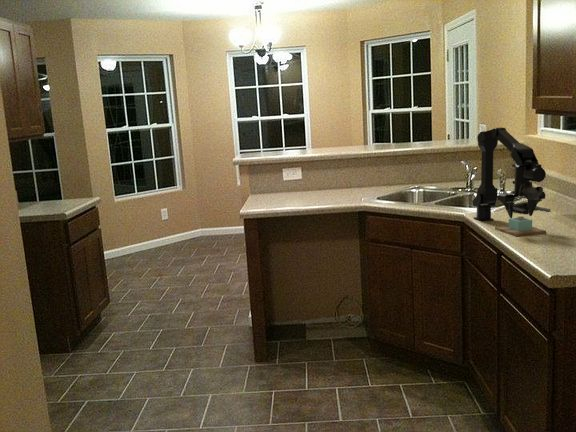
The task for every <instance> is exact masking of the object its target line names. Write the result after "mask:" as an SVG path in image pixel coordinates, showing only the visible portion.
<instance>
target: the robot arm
mask: <svg viewBox="0 0 576 432" xmlns="http://www.w3.org/2000/svg"><path fill="white" fill-rule="evenodd" d="M476 140H477V146H478V148H479V150H480V151H481V166H480V167H481V168H480V170H481V172H480V173H481V175H480V179H481V180H480V182H481V183H480V185H479V186H478V188H477V190H476V195H475V197H474V198H473V199H472V201H471V204H472V207H475V208H476V217H475V216H474V217H473V219H474V220H477V221H479V222H485V221H494V218H492V207H495V206H496V204H497V201H500V203H502V204H503V206H504V207H505V211H506V210H507V211H506V213H507V214H508V217H509V219H510V218H513V216H514V214H513V213H514V212H513V205H514V204H516V202H515V200H517V199H518V200H519V199H520V200H521V199H526V200H527V202H528V210H529V213H528V216H529V217H532V216H533V214H534V211H535V210H534V209H535V207H536V205H538V204H539V203H540V202H543V200H544V199H545V200H546V193H545V191H544V188H543V186H536V187H535V186H533V182H536V183H541V182H543V181H544V180H545V179H546V177H547V176H546V174H547V173H546V171H545V169H544V168H543V167H542V164H539V160H538V158H537V156H536V154H535V152H534V150H533V148H532V147H531V146H528V145H526V144H523V143H521V142H519V141H518V140H517V139H516V138H515V137H514V136H513V135H511V133H510V132H509V131H508V130H507V128H506V127H494V128H492V129H489V130H481V131H479V133H478V134H477V139H476ZM498 143H501V144H502V145H503V146H504V147H505V148H506V149H507V150H508V151H509V152H510V157H511V159H512V160H513V161H514V163H513V164H512V165H511V167H512V168H514V180H512V184H513V185H514V186H513V187H514V190H512V192H511V193H510V192H509V193H508V192H503V193H501V192H500V193H499V194H498V191H499V189H498V187H495V184H494V151H495V149H496V148H497V146H498V145H499V144H498Z"/></svg>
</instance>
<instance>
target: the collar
mask: <svg viewBox="0 0 576 432" xmlns="http://www.w3.org/2000/svg"><path fill="white" fill-rule="evenodd" d="M508 226H509V228H510V229H513V230H516V231H525V230H532V227H533V219H530V218H526V217H524V220H522V221H519V220H517V217H512V218H510V217H509V218H508Z"/></svg>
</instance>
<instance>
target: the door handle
mask: <svg viewBox="0 0 576 432" xmlns="http://www.w3.org/2000/svg"><path fill="white" fill-rule="evenodd" d="M537 205H538V204H537ZM537 205H536V207H535V209H534V211H539V210H540V212H545V213H546V212H548V213H549V211H550V212H551V208H547V207H542V206H537ZM505 211H506V212H507V210H506V209H505ZM513 213H516V214H522V215H527V214H528V215H529V210H528V201H523V202H519V203H515V204H514V205H513Z"/></svg>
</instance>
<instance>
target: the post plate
mask: <svg viewBox="0 0 576 432" xmlns="http://www.w3.org/2000/svg"><path fill="white" fill-rule="evenodd" d="M516 218H517V220H519V221H522V220H524V218H525V216H520V215H519V216H517V217H516ZM494 230H495V231H499V232H500V233H501V232H502V233H505V234H508V235H509V236H512V237H523V236H533V235H534V236H535V235H541V234H542V235H543V234H547V230H544V229H541V228H538V227H535V226H532V230H525V231H516V230H513V229H510V228H509V225H502V226H495V227H494Z"/></svg>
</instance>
